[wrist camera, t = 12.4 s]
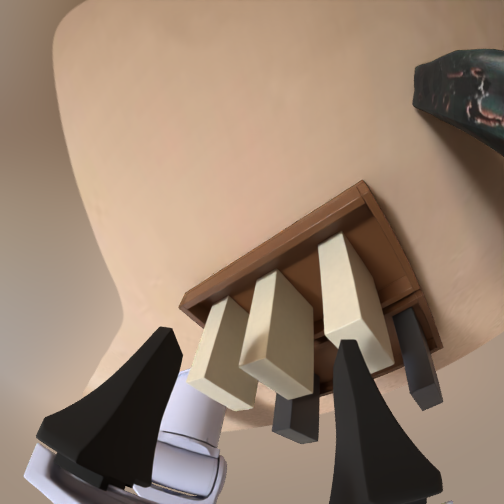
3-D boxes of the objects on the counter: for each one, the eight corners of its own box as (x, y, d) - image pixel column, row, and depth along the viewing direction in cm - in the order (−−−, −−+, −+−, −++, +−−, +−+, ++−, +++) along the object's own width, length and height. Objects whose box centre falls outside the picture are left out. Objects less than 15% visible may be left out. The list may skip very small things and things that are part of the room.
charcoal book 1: (304, 381, 29) (301, 444, 22) (279, 362, 27) (271, 431, 21) (319, 376, 28) (318, 441, 22) (295, 356, 26) (290, 428, 20)
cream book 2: (293, 316, 23) (287, 400, 17) (256, 279, 21) (237, 367, 15) (313, 307, 22) (313, 393, 16) (276, 267, 21) (265, 357, 14)
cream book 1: (249, 336, 25) (234, 411, 19) (212, 304, 24) (185, 382, 17) (266, 329, 25) (254, 408, 18) (228, 295, 23) (203, 377, 16)
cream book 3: (350, 289, 21) (364, 376, 14) (317, 244, 19) (323, 334, 12) (372, 277, 20) (395, 364, 13) (341, 229, 18) (361, 317, 11)
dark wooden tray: (304, 388, 31) (303, 401, 29) (256, 353, 27) (254, 368, 26) (438, 333, 23) (443, 347, 21) (416, 279, 20) (423, 294, 18)
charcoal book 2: (406, 341, 23) (422, 411, 17) (391, 314, 22) (409, 393, 15) (424, 333, 22) (443, 402, 16) (410, 304, 21) (435, 382, 14)
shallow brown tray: (251, 349, 27) (249, 364, 26) (185, 293, 24) (178, 307, 22) (413, 272, 19) (420, 288, 18) (362, 179, 16) (369, 190, 15)
